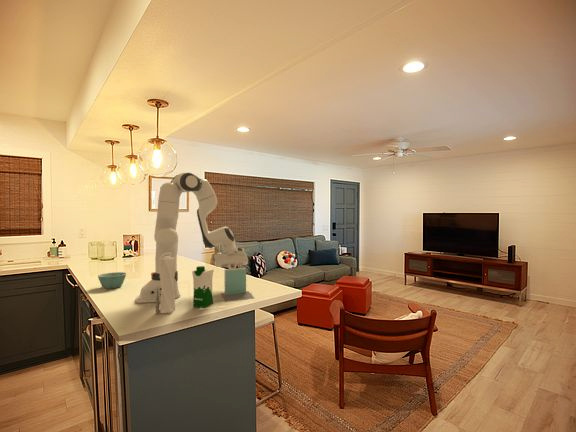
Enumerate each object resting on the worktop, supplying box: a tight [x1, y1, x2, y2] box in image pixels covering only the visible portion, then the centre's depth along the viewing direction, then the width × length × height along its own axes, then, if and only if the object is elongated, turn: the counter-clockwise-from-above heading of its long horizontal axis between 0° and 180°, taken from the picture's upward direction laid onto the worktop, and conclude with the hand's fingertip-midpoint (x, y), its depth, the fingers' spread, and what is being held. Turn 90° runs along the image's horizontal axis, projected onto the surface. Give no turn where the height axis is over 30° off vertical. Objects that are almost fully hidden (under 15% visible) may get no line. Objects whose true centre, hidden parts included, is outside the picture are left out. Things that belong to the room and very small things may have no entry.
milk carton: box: [191, 265, 214, 309], centre depth 151 cm, size 9×9×20 cm
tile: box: [223, 267, 247, 295], centre depth 172 cm, size 12×2×14 cm, turn 110°
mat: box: [220, 290, 256, 302], centre depth 167 cm, size 16×16×1 cm
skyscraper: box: [154, 253, 176, 316], centre depth 143 cm, size 8×8×28 cm
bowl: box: [97, 271, 127, 290], centre depth 190 cm, size 16×16×8 cm
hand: (233, 270), depth 180 cm, fingers closed
